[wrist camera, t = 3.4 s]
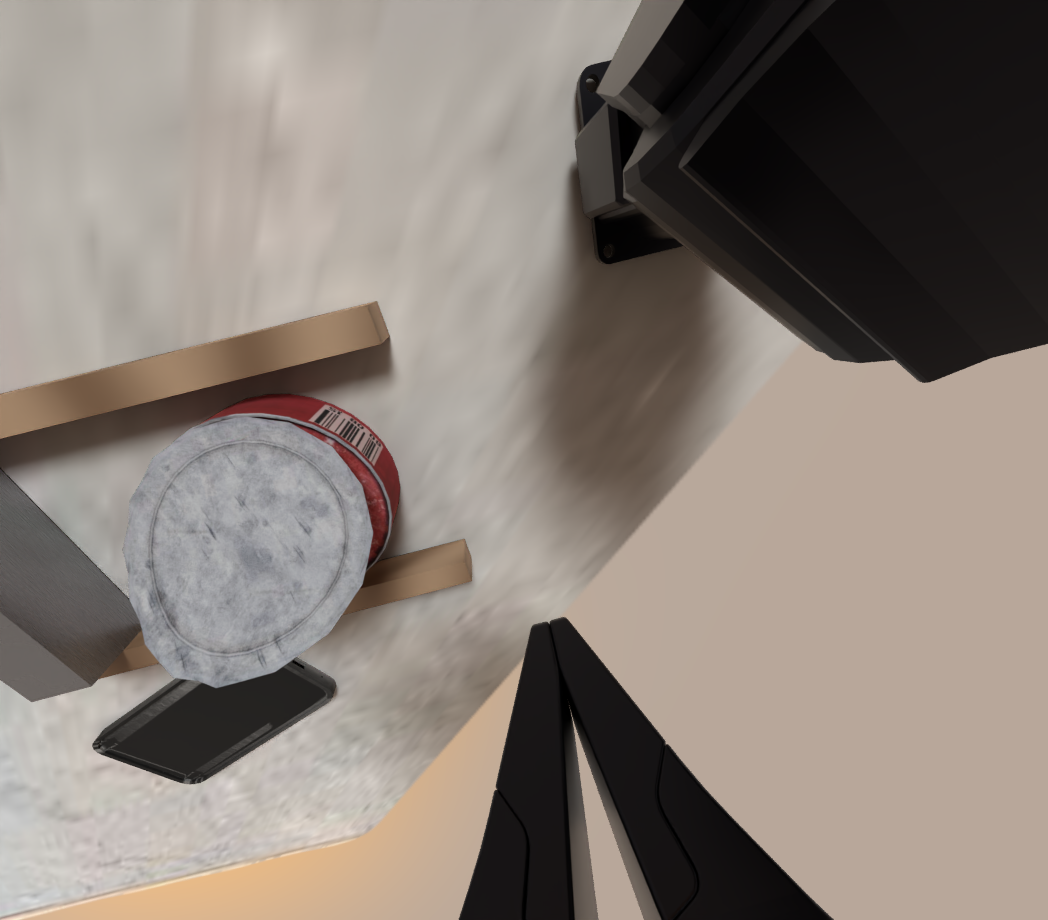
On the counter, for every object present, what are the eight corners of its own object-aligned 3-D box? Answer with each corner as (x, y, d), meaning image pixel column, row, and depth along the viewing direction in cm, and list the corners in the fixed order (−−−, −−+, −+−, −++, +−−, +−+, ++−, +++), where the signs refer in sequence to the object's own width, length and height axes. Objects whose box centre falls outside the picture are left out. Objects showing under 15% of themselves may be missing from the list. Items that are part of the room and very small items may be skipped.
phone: (84, 748, 26) (239, 639, 23) (98, 730, 27) (249, 623, 24) (195, 788, 29) (341, 696, 27) (204, 770, 30) (345, 680, 28)
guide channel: (376, 301, 17) (366, 305, 15) (471, 557, 24) (471, 581, 22) (-131, 426, 16) (-202, 445, 15) (117, 650, 23) (88, 681, 22)
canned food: (260, 480, 25) (29, 555, 16) (315, 349, 21) (49, 348, 12) (388, 600, 24) (222, 753, 15) (473, 487, 20) (316, 602, 11)
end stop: (-29, 439, 17) (-157, 485, 14) (149, 620, 23) (91, 686, 19) (-97, 456, 17) (-243, 506, 14) (99, 633, 23) (31, 701, 19)
